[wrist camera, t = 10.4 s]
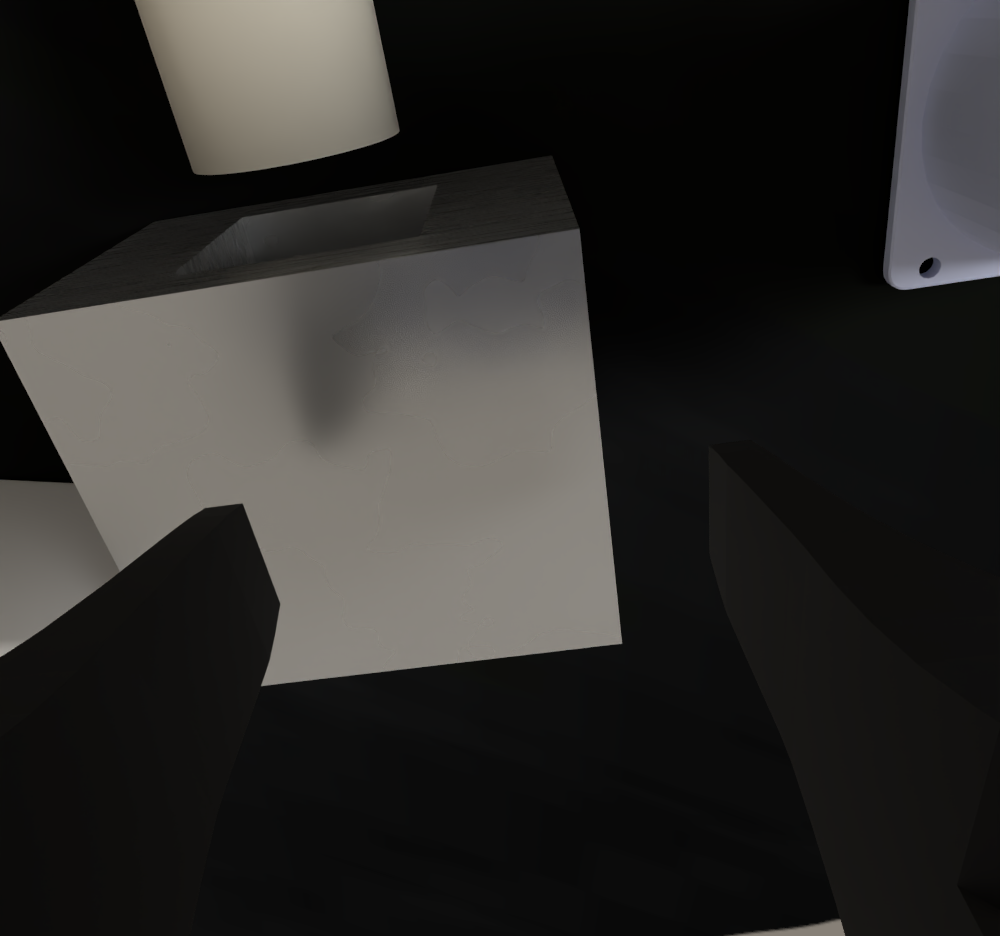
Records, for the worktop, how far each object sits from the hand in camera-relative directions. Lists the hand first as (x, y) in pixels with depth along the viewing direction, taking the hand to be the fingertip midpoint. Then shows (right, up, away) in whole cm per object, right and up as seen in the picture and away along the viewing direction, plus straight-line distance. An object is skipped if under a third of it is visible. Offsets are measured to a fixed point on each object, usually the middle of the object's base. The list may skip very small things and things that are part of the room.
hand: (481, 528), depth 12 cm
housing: (-3, +4, +9) cm, 10 cm away
